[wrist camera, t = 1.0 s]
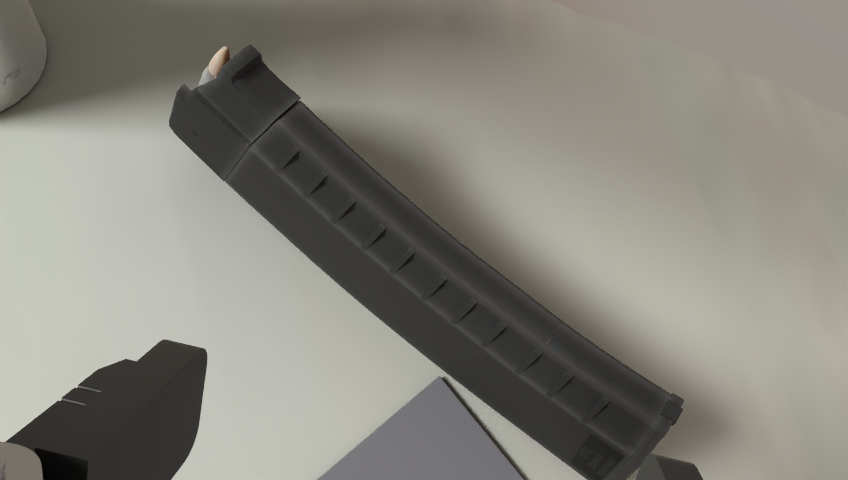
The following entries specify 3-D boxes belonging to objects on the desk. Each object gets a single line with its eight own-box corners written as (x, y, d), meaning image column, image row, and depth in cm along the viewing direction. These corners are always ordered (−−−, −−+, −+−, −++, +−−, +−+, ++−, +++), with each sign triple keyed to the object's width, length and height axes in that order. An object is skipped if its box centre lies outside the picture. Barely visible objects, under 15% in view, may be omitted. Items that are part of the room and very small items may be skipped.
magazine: (769, 466, 28) (271, -86, 23) (741, 531, 27) (203, -40, 21) (537, 436, 44) (203, 99, 38) (511, 477, 42) (160, 133, 37)
